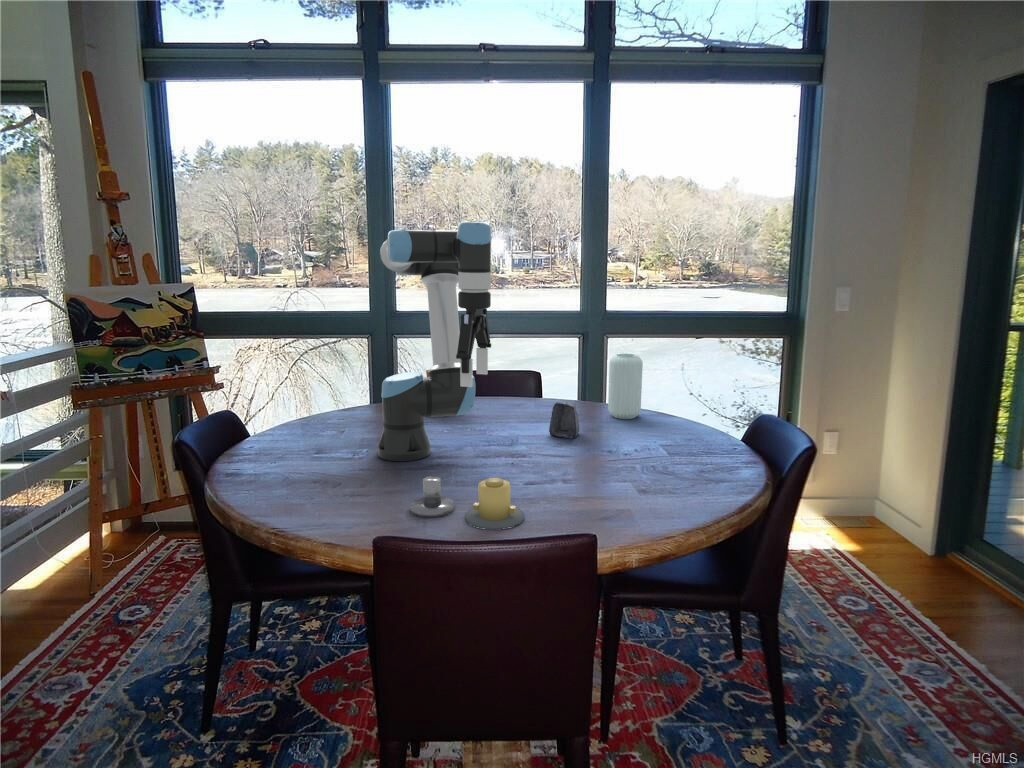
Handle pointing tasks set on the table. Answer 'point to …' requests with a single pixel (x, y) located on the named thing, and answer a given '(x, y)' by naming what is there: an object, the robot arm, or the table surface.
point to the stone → (564, 420)
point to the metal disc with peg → (432, 500)
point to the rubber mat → (511, 521)
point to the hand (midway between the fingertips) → (474, 380)
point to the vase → (625, 386)
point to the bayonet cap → (494, 500)
